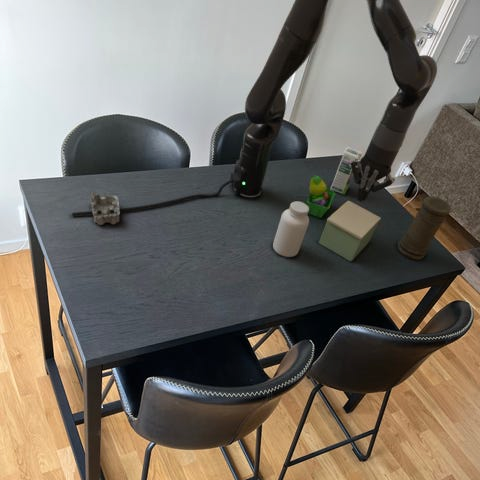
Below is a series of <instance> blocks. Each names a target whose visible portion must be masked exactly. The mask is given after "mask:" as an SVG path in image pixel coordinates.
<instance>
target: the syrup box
mask: <svg viewBox="0 0 480 480" xmlns="http://www.w3.org/2000/svg"><path fill="white" fill-rule="evenodd" d="M362 155H363V151H360V150H357V149H355V148H352V147H350V146H347V147H346V148H345V150H344V152H343V154H342V157H341V159H340V162H339V165H338V168H337V170H336V173H335V176H334V178H333V180H332V183H331V186H330V188H329V190H332V191H334V192H335V193H336V192H337V193H338V194H341V195H344V196H345V195H346V193H347V191H348V189H349V187H350V184H351V182H352V179H353V178H354V175H353V171H352V167H351V162H353V161H354V160H355V159H358V160H360V159H361V158H362Z"/></svg>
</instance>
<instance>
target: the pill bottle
mask: <svg viewBox="0 0 480 480" xmlns="http://www.w3.org/2000/svg"><path fill="white" fill-rule="evenodd" d="M308 212H309V208H308V206H307V203H305V202H303V201H297V200H296V201H292V202H291V203H290V205H289V208H287V209H286V210H284V211H283V212H282V213H281V217H280V220H279V223H278V226H277V230H276V233H275V236H274V240H273V243H272V248H273V250H274V252H276V253H277V254H278V255H280V256H282V257H285V258H291V257H295V256H297V255H298V253H299V251H300V249H301V247H302V244H303V241H304V239H305V235H306V233H307V230H308V227H309V224H310V218H309V216H308V215H309V214H308Z"/></svg>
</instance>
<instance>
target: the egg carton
mask: <svg viewBox="0 0 480 480" xmlns="http://www.w3.org/2000/svg"><path fill="white" fill-rule="evenodd" d="M90 195H91V201H90V203H91V211H92V212H93V214H92V216H93V222H94V223H95V224H98V225H99V226H101V225H102V226H103V225H104V224H105V223H109V224H111V225H116V224H117V223H120V214H121V212H120V209H121V208H120V203H119V197H118V196H116V195H111V194H110V195H107V194H105V195H104V196H100V194H99V193H94V192H91V194H90ZM111 209H114V212H113V213H110V210H111ZM99 210H102V214H98V211H99Z"/></svg>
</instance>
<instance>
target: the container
mask: <svg viewBox="0 0 480 480" xmlns="http://www.w3.org/2000/svg"><path fill="white" fill-rule="evenodd" d="M451 211H452V207H451V205H450V204H449V203H448V201H446V200H445V199H442V198H440V197H438V196H433V195H429V196H426V197H425V198H424V199H423V201H422V204H421V206H420V208H419V209H418V210H417V213H416V214H415V216H414V218H413V220H412V222H411V224H410V225H409V228H408V229H407V230H406V231H405V233H404V235H403V236H402V237H401V238H400V240H399V241H398V242H397V249H398V251H399V252H400V253H401V254H402V255H403V256H405V257H406V258H408V259H412V260H415V261H418V260H422V259H423V258H424V257H425V256H426V253H427V252H428V248H429V246H430V245H431V242H432V240H433V238H434V237H435V235H436V234H437V232H438V231H439V230H440V227H441V226H442V224H443V223H444V221H445V218H447V217H448V215H449V214H450V213H451Z"/></svg>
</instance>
